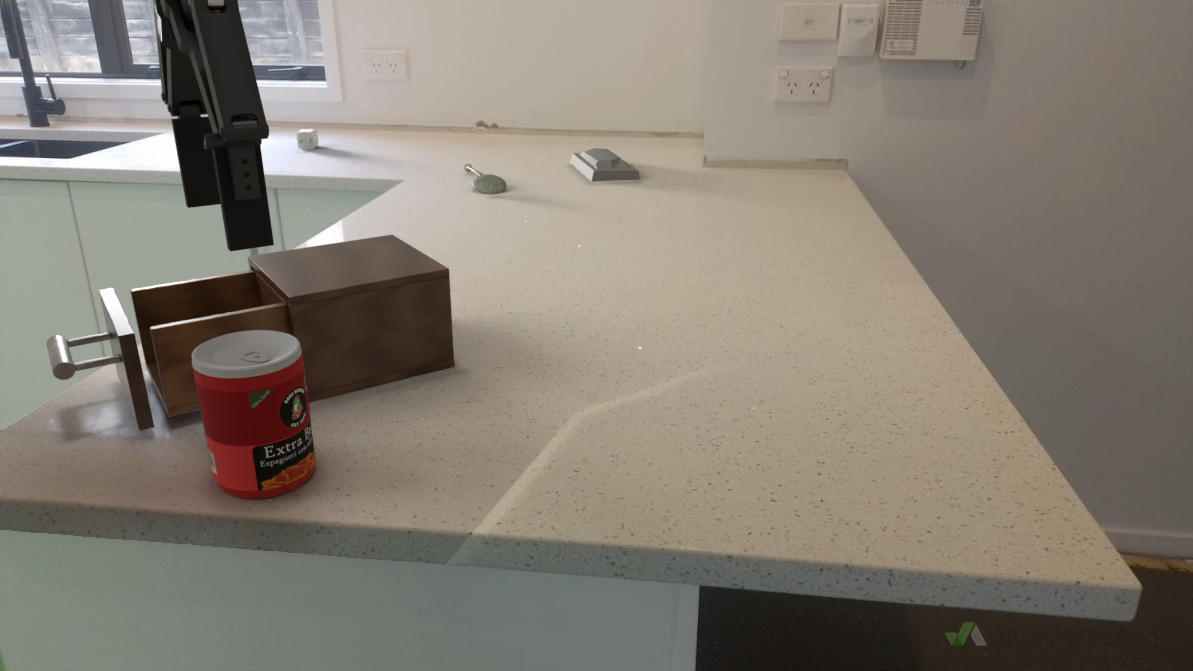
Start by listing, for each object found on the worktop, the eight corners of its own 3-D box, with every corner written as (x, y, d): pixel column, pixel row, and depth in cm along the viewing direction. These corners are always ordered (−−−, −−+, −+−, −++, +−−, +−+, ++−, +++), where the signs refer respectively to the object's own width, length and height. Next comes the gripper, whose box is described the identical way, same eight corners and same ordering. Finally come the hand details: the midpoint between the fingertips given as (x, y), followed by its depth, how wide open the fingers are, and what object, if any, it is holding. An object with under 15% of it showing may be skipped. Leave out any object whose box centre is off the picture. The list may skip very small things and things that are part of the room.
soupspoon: (476, 198, 158) (510, 197, 160) (476, 181, 157) (510, 180, 159) (452, 171, 177) (483, 171, 179) (452, 155, 175) (483, 155, 178)
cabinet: (303, 403, 79) (289, 297, 75) (261, 351, 90) (247, 256, 86) (454, 366, 87) (449, 268, 83) (399, 322, 98) (392, 234, 94)
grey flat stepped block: (591, 181, 171) (591, 164, 169) (570, 162, 189) (570, 146, 187) (639, 179, 173) (640, 162, 172) (614, 161, 191) (614, 145, 190)
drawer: (71, 447, 69) (46, 349, 66) (57, 387, 79) (35, 299, 76) (309, 390, 79) (298, 303, 76) (270, 343, 89) (258, 264, 86)
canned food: (274, 510, 63) (253, 377, 59) (190, 488, 65) (164, 359, 61) (337, 460, 69) (322, 338, 65) (259, 442, 72) (240, 323, 68)
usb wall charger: (318, 145, 203) (316, 129, 201) (313, 151, 197) (311, 133, 195) (301, 145, 202) (299, 129, 201) (295, 151, 196) (293, 133, 195)
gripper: (295, -131, 44) (337, 260, 52) (196, -99, 63) (239, 185, 71) (135, -145, 40) (208, 281, 48) (81, -106, 59) (140, 195, 67)
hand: (226, 224), depth 59 cm, fingers open, 13 cm apart
